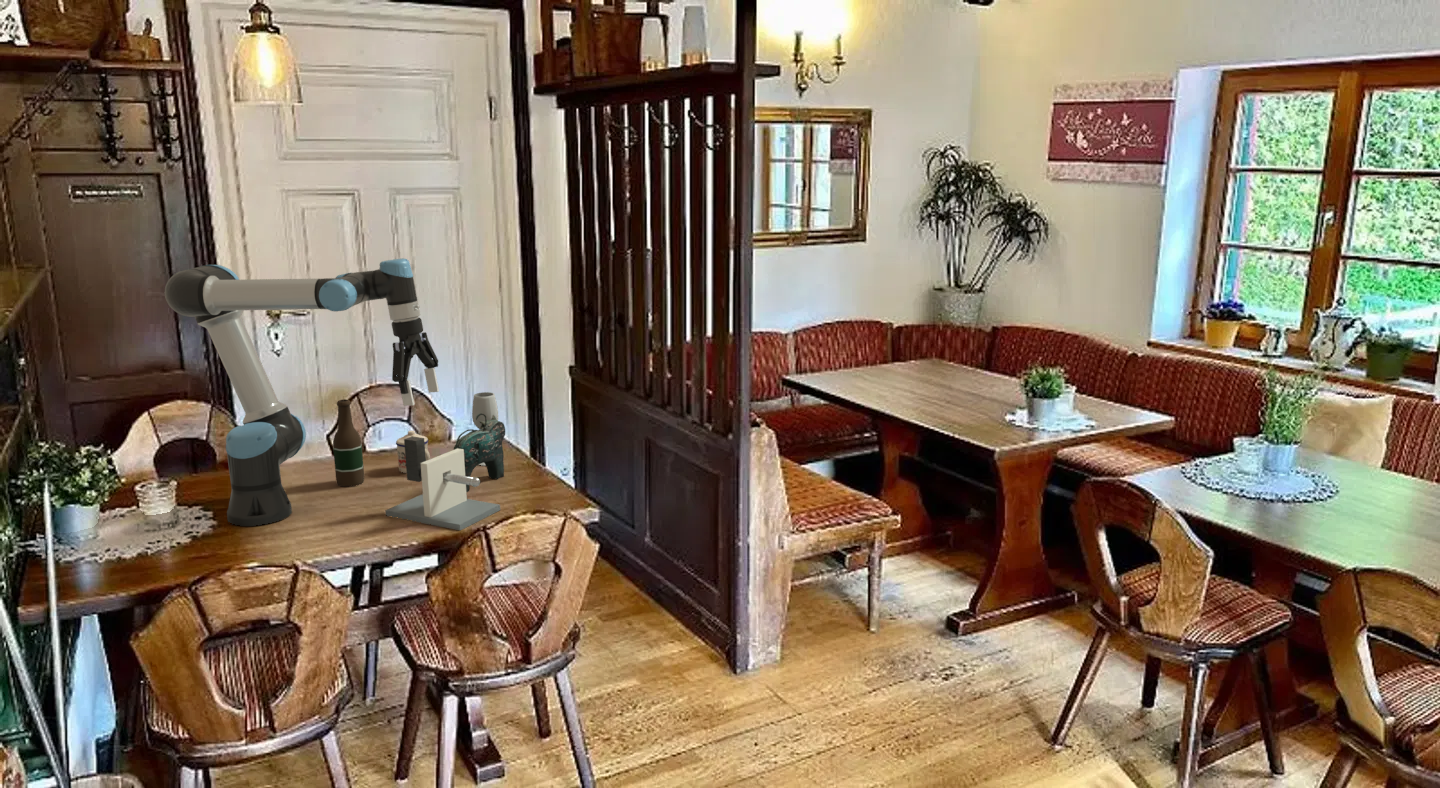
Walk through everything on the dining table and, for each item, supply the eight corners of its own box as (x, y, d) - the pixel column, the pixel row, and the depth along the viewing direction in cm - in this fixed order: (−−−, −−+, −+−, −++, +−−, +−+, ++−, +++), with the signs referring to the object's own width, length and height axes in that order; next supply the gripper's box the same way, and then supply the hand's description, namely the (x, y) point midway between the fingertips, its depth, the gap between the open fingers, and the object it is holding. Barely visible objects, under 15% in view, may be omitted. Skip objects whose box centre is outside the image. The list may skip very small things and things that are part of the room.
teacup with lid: (391, 470, 297) (388, 432, 294) (417, 462, 304) (414, 425, 301) (416, 478, 289) (413, 439, 287) (442, 470, 296) (440, 432, 294)
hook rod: (475, 491, 253) (473, 449, 251) (407, 479, 263) (404, 439, 260) (483, 488, 256) (480, 446, 253) (415, 476, 265) (412, 436, 263)
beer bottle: (356, 488, 281) (349, 404, 275) (330, 486, 282) (322, 403, 277) (370, 479, 288) (363, 397, 283) (345, 477, 290) (337, 396, 284)
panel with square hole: (460, 530, 250) (456, 470, 246) (385, 515, 260) (380, 458, 256) (500, 510, 264) (497, 453, 260) (428, 497, 274) (424, 442, 270)
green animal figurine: (496, 472, 294) (492, 406, 290) (513, 476, 291) (509, 408, 287) (447, 492, 277) (443, 422, 273) (465, 496, 274) (461, 425, 270)
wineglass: (493, 457, 309) (489, 390, 304) (505, 462, 303) (501, 394, 298) (470, 461, 304) (466, 394, 299) (482, 467, 299) (478, 398, 294)
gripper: (394, 327, 248) (411, 410, 253) (441, 309, 272) (456, 385, 277) (367, 329, 250) (384, 412, 255) (416, 311, 273) (431, 387, 278)
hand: (421, 398), depth 266 cm, fingers open, 13 cm apart
